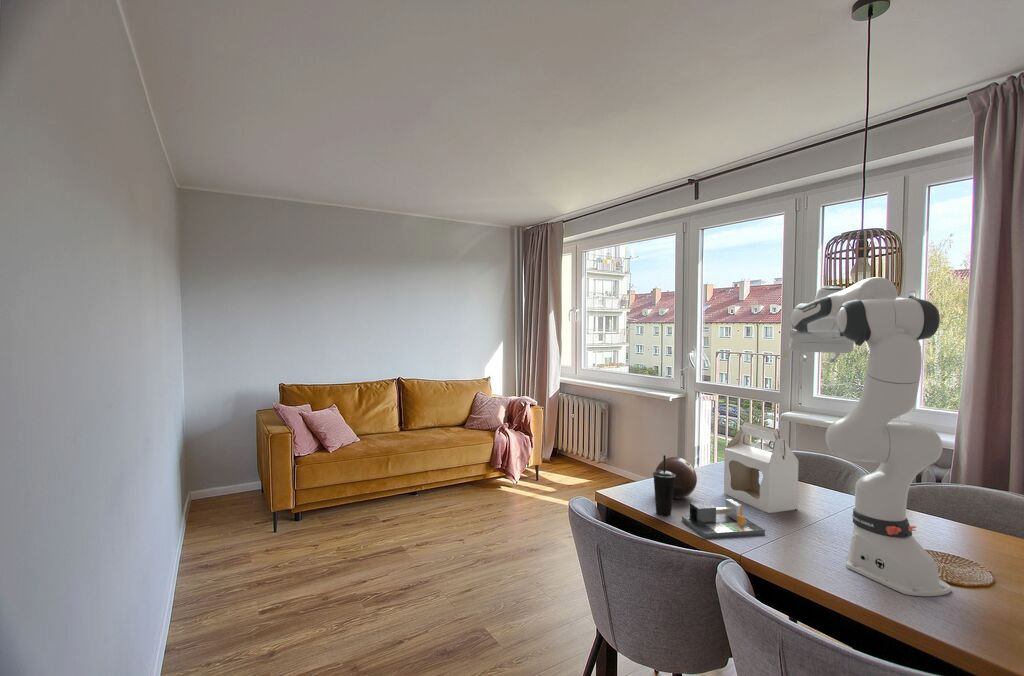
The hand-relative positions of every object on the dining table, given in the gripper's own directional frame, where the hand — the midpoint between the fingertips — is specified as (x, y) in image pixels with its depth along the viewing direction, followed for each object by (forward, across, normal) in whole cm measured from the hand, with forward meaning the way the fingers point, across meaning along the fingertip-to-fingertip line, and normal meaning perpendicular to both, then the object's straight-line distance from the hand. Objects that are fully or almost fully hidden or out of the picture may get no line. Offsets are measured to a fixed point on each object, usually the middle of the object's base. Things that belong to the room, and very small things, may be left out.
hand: (817, 361), depth 187 cm
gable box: (+43, -20, -31) cm, 57 cm away
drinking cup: (+32, -53, -53) cm, 82 cm away
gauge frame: (+29, -35, -59) cm, 75 cm away
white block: (+28, -34, -56) cm, 72 cm away
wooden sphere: (+41, -49, -37) cm, 73 cm away
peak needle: (+26, -30, -59) cm, 71 cm away
